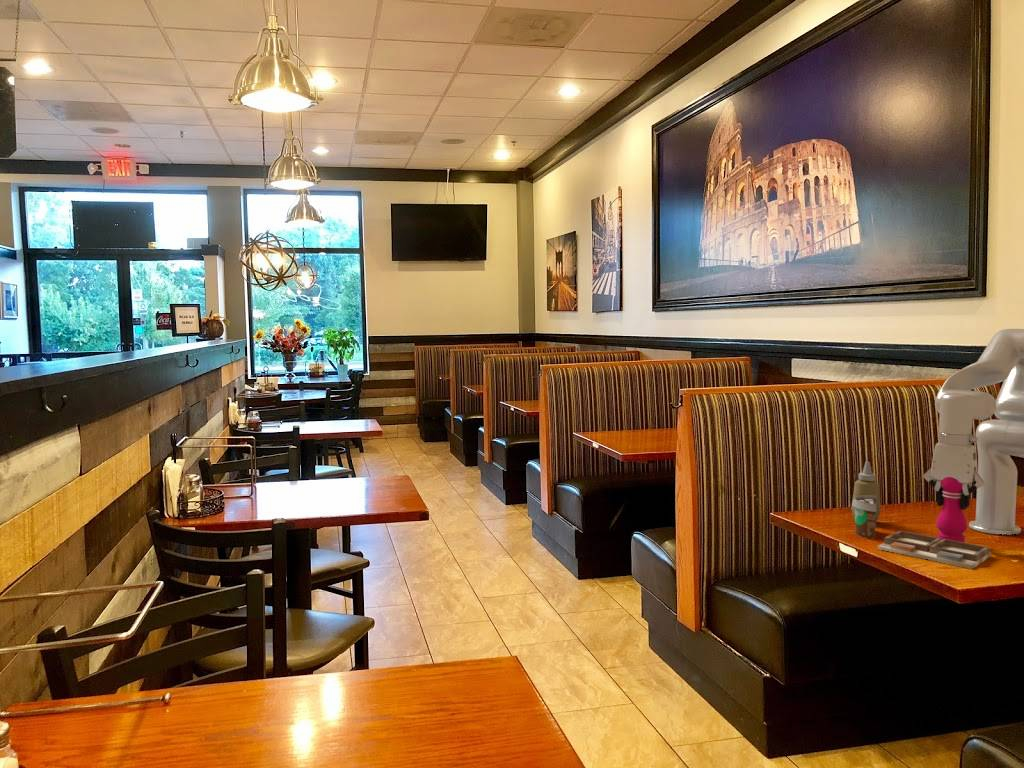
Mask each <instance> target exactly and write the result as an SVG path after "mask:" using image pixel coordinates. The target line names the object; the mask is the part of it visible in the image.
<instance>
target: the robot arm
mask: <svg viewBox="0 0 1024 768" xmlns="http://www.w3.org/2000/svg"><path fill="white" fill-rule="evenodd" d="M1001 382H1002V384H1001V387H1000V390H999V392H998V394H997V397H996V398H995V397H994V396H993V395H992V394H991V393H989V392H985V391H980V390H979V391H977V390H974V389H979V388H982V387H988V386H993V385H996V384H998V383H1001ZM934 406H935V409H936V411H937V412H938V414H939V419H938V421H939V422H938V423H939V425H938V442H937V443H935V445H934V446H935V447H934V450H933V455H932V461H931V467H930V468H929V469H928V470H927V471H926V472H925V473H923V475H922V478H924V479H925V481H926V482H928V484H930V486H932V488H933V489H934V491H935V503H937V506H938V507H941V506H943V505H944V496H942V494H943V492H942V491H943V490H944V489H943V488H942V486H941V481H942V480H943V479H944V478H946V477H952V478H955V479H957V480H958V481H959V482H960V483H962V484H963V487H962V489H963V491H962V492H963V495H961V509H962V511H965V510H967V509H968V508H969V507H970V504H971V503H970V500H971V494H972V493H973V492H975V491H976V502H975V503H976V505H975V520H970V521H969V522H968V523H969V524H968V527H969V528H970V529H971V530H974V531H977V532H981V533H987V534H991V535H999V534H1002V536H1015V535H1014V534H1016V535H1020V534H1021V532H1022V528H1021V527H1020V526H1018V525H1015V524H1016V508H1017V507H1016V504H1017V490H1018V489H1017V487H1018V468H1017V466H1016V464H1015V462H1014V460H1013V459H1012V457H1011V456H1016V457H1024V328H1005V329H1002V330H999V331H998V332H997V331H996V333H995V334H994V335H993V336H992V338H991V339H990V341H989V343H988V344H987V345H986V347H985V348H984V350H983V352H982V354H981V355H980V356H979V358H978V359H977V361H976V362H974V363H971V364H969V365H967V366H965V367H963V368H961V369H959V370H958V371H956V372H954V373H952V374H951V375H950V376H949V377H948V378H946V380H945V381H944V382H943V385H942V386H941V388H939V390H938V392H937V394H936V398H935V402H934ZM993 415H994V416H995V417H996V418H997V419H989V418H990V417H992V416H993ZM986 419H987V420H986ZM973 420H983V421H982V422H980V423H979V424H978V425H977V427H976V431H975V436H974V435H973V434H972V430H973V429H972V428H973ZM973 443H976V445H972V444H973ZM975 446H976V447H975ZM976 449H977V452H976ZM977 456H978V457H977ZM977 458H978V459H977ZM977 460H978V461H977ZM974 482H975V484H973V485H971V484H972V483H974ZM1004 534H1005V535H1004ZM1006 534H1007V535H1006ZM1012 534H1013V535H1012Z"/></svg>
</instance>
